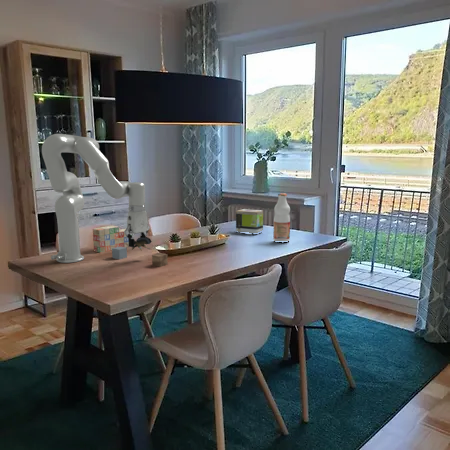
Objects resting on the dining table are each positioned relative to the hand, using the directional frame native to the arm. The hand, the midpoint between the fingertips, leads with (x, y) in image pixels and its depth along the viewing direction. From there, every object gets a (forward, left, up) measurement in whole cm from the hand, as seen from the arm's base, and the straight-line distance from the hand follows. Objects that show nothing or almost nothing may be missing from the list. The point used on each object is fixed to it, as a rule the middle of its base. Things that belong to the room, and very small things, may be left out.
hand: (137, 245), depth 212 cm
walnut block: (0, -14, -8) cm, 16 cm away
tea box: (+91, -11, -8) cm, 92 cm away
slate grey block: (0, +12, -8) cm, 15 cm away
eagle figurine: (+2, 0, -3) cm, 3 cm away
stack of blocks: (+13, +30, -8) cm, 34 cm away
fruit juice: (+77, -40, -8) cm, 87 cm away
